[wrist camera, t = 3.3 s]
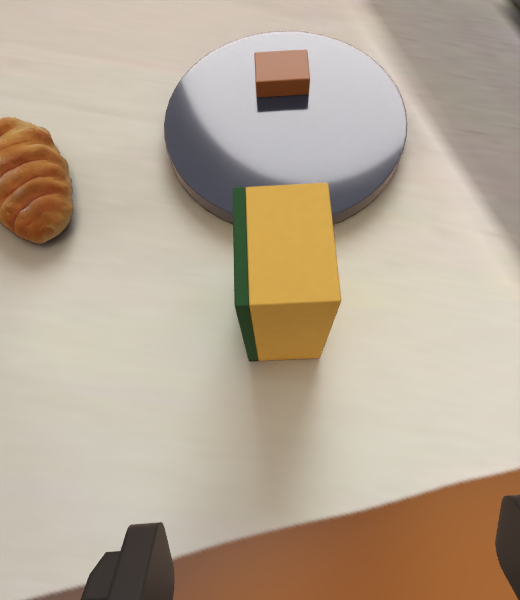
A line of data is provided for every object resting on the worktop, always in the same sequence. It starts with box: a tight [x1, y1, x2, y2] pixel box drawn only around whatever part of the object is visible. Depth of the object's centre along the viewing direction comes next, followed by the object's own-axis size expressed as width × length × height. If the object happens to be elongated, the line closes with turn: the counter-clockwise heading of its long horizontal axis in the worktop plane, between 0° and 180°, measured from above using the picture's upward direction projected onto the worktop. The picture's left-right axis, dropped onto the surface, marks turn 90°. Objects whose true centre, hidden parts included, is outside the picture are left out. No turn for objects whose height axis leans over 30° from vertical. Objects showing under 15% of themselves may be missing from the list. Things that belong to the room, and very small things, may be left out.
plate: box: [164, 31, 407, 224], centre depth 34 cm, size 18×18×2 cm
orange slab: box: [254, 49, 310, 97], centre depth 34 cm, size 4×3×2 cm
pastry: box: [0, 117, 73, 243], centre depth 31 cm, size 9×7×4 cm
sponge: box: [233, 183, 341, 361], centre depth 24 cm, size 4×6×10 cm
